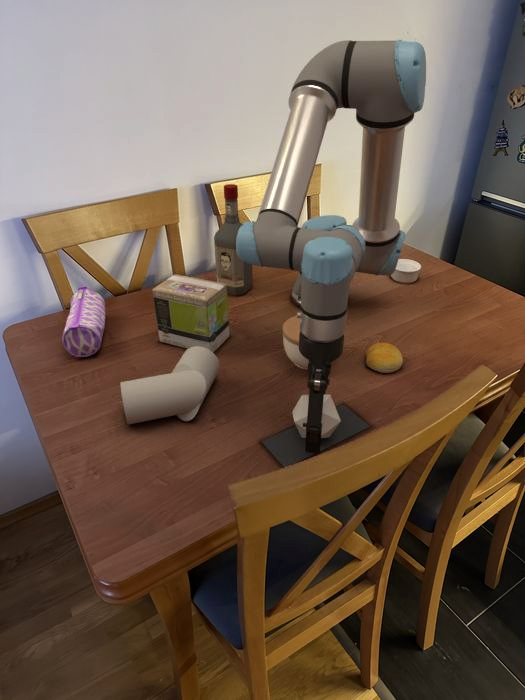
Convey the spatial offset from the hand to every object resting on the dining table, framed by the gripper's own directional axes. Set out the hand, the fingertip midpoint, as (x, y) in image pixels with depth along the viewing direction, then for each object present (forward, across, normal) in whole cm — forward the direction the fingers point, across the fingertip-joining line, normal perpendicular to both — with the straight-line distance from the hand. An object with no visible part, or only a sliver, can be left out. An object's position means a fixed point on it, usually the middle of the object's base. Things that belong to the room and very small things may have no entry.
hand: (314, 430), depth 94 cm
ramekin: (+1, -73, +22) cm, 76 cm away
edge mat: (+1, 0, 0) cm, 1 cm away
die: (+1, 0, 0) cm, 1 cm away
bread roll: (+1, -26, +14) cm, 29 cm away
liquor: (+1, -58, -28) cm, 64 cm away
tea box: (+1, -29, -32) cm, 43 cm away
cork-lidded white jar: (+1, -24, -3) cm, 24 cm away
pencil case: (+1, -26, -59) cm, 65 cm away
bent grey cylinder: (+1, -4, -30) cm, 30 cm away
